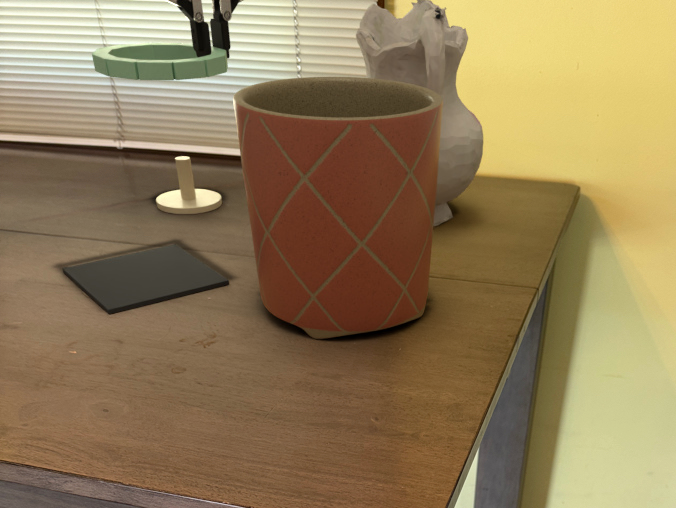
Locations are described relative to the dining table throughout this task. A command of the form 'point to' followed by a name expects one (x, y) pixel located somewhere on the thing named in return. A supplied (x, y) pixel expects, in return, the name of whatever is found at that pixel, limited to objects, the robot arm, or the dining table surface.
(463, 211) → the dining table surface
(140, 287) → the mat
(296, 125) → the planter
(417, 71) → the ceramic pitcher
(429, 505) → the dining table surface
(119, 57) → the ring
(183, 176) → the ring holder
